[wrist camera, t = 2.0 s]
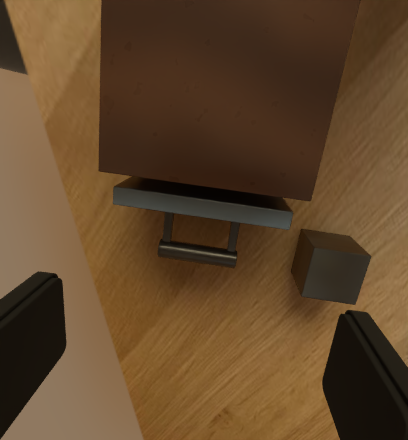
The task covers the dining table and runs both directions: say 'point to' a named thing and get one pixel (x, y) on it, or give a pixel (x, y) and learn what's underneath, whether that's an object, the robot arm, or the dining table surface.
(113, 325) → the dining table surface
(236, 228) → the drawer
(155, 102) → the cabinet
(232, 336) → the dining table surface
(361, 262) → the block
